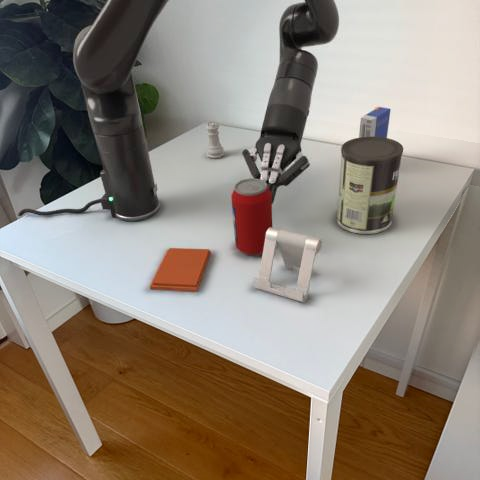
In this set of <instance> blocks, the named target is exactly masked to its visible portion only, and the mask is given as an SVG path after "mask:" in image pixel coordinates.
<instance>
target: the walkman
mask: <svg viewBox="0 0 480 480" xmlns="http://www.w3.org/2000/svg"><path fill="white" fill-rule="evenodd" d="M391 110H392V109H391V108H389V107H382V106H377V107H375V108H374V109H373V110H371V111H369V112H368V113H366V114H364V115H363V116H361V117H360V123H359V132H358V133H359V134H358V138H360V137H384V138H388V134H389V133H388V131H389V124H390V119H391V118H390V117H391Z"/></svg>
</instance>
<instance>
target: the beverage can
mask: <svg viewBox="0 0 480 480" xmlns="http://www.w3.org/2000/svg"><path fill="white" fill-rule="evenodd" d="M230 197H231V211H232V220H233V221H232V223H233V233H234V243H235V248H236V249H237V251H239V252H241V253H243V254H246V255H249V256H256V255H257V256H258V255H261V254H263V249H264V243H265V237H266V232H267V230H268V228H269V227H271V228H273V204H272V197H271V191H270V190H269V188H268V187H267V183H266V182H265V181H263V180H261V179H254V178H253V177H251V178H245V179H242V180H240V181H237V182H236V183H235V184H234V188H233V191H232V193H231V196H230Z"/></svg>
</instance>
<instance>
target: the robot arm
mask: <svg viewBox="0 0 480 480" xmlns="http://www.w3.org/2000/svg"><path fill="white" fill-rule="evenodd" d="M169 2H170V0H106V2H105V4H104V5H103V7H102V8H101V10H100V11H99V13H98V15H97V17H96V18H95V19H94V22H93V23H92V24H91V25H88V26H86V27H84V28H83V29H81V31H80V32H79V33H78V35H77V36H76V38H75V39H74V43H73V50H72V51H73V53H72V62H73V66H74V70H75V73H76V75H77V77H78V79H79V80H80V84H81V88H82V92H83V96H84V100H85V104H86V109H87V113H88V114H87V115H88V118H89V123H90V126H91V130H92V134H93V136H94V140H95V144H96V148H97V151H98V155H99V158H100V163H101V166H102V170H101V171H100V173H99V175H100V179H101V182H102V186H103V190H104V193H103V195H102V197H100V198H98V199H95V200H91V201H89V202H87V203H86V204H85V205H84V206H83V207H81V208H60V209H55V210H48V211H41V210H36V209H34V208H33V209H32V208H23V209H20V211H19V212H18V214H17V216H18V217H21V216H23V215H24V214H26V213H28V214H33V215H38V216H43V217H44V216H45V217H47V216H54V215H58V214H69V213H70V214H81V213H84V212H87V210H88V209H89V208H91V207H92V206H94V205H98V204H100V205H101V208H102V210H104V211H105V210H106V211H110V215H111V217H112V218H117V219H119V220H120V221H125V222H137V221H143V220H147V219H149V218H151V217H153V216H154V215H156V214H157V213H158V212H159V211H160V201H159V198H158V189H159V188H158V185H157V184H158V183H156V182H155V178H154V173H153V168H152V163H151V157H150V152H149V148H148V143H147V139H146V134H145V133H146V132H145V129H144V124H143V118H142V113H141V109H140V107H141V106H140V104H139V99H138V95H137V90H136V86H135V85H136V84H135V80H134V75H133V69H134V67H135V64H136V62H137V59H138V57H139V55H140V52H141V51H142V48H143V46H144V44H145V41H146V39H147V37H148V35H149V33H150V32H151V29H152V28H153V25H154V24H155V22H156V21H157V19H158V17H160V15H161V13H162V12H163V10H164V9H165V8H166V6H167V4H168V3H169ZM339 27H340V15H339V10H338V7H337V4H336V2H335V0H304V1H302V2H297V3H293V4H291V5H289V6H288V7H286V9H285V10H284V11H283V13H282V15H281V17H280V20H279V25H278V32H279V33H278V36H279V63H278V67H277V70H276V75H275V79H274V83H273V86H272V88H271V91H270V94H269V98H268V102H267V106H266V110H265V113H264V118H263V122H262V126H261V129H260V135H259V138H258V139H257V141H256V142H255V146H254V147H252V148H251V149H249V150H248V149H243V150H242V152H241V154H242V157H243V159H244V161H245V163H246V165H247V168H248V170H249V172H250V174H251V176H252V178H254V179H261V180H263V181H265V182H266V183H267V187H268V188H269V190H270V191H271V197H272V205H273V204H274V202H275V198H276V194H277V190H278V188H279V187H282V186H284V187H288V186H289V185H290V184H292V182H293V181H294V180H296V179H297V178H298V177H299V176H300V175H302V173H303V172H305V171H306V170H307V169H308V168H309V167H310V165H311V163H310V161H309V159H308V157H307V155H304V154H303V153H302V146H301V145H302V140H303V136H304V133H305V128H306V124H307V121H308V117H309V115H310V109H311V103H312V95H313V90H314V86H315V82H316V78H317V74H318V69H319V63H318V59H317V57H316V56H315V55H314V54H313V53H311V52H310V51H308V50H305V49H303V48H309V47H315V46H322V45H327V44H329V43H331V42H332V41H333V40H335V38H336V36H337V35H338V31H339ZM258 157H259V159H260V162H261V171H260V170H259V168H258V165H257V163H256V162H257V160H258ZM292 163H293V164H292ZM291 164H292V165H291ZM290 165H291V166H290ZM289 166H290V167H289Z"/></svg>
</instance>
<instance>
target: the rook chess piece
mask: <svg viewBox="0 0 480 480" xmlns="http://www.w3.org/2000/svg"><path fill="white" fill-rule="evenodd" d="M219 128H220V125H219V124H218V121H217V120H213V121H212V120H209V121H207V122H206V125H205V129H206V130H207V135H208V144H207V147H206V156H207V158H209V159H213V160H214V159H215V160H216V159H221V158H222V157H224V155H225V151H224V149H225V148H224V146H222V143H221V141H220V137H219V134H220V132H219Z"/></svg>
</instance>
